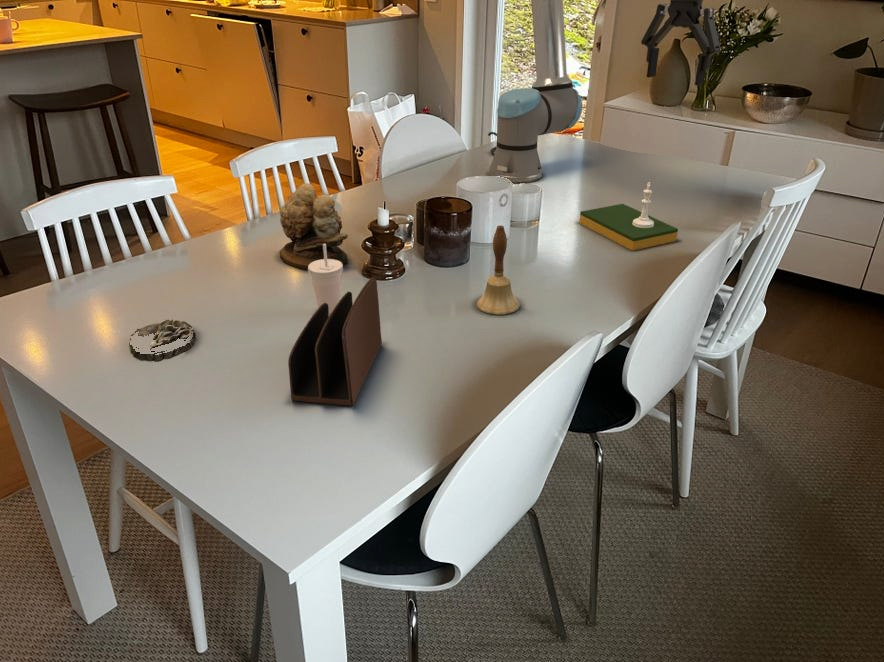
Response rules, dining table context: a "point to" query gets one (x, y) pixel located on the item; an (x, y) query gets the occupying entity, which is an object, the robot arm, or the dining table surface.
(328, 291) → the smoothie
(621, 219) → the sponge pad
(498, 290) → the hand bell
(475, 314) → the dining table surface
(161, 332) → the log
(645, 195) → the chess piece
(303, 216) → the owl figurine
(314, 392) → the letter holder
